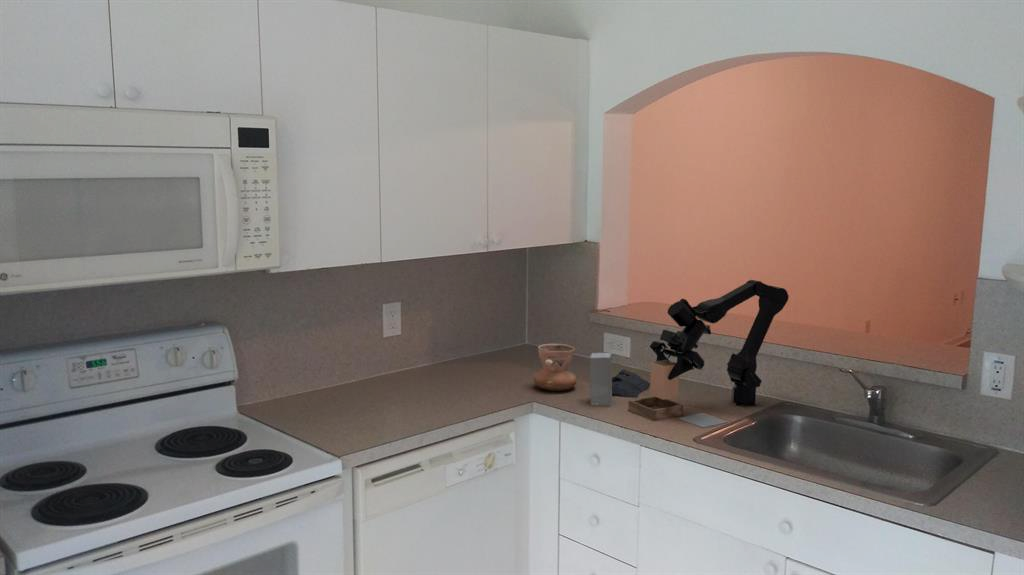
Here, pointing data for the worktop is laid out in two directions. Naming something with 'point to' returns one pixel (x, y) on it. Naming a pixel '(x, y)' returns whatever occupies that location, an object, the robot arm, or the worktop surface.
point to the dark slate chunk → (628, 384)
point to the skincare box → (601, 379)
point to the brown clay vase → (555, 367)
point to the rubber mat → (703, 420)
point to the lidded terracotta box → (663, 380)
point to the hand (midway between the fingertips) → (661, 376)
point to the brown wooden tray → (655, 408)
